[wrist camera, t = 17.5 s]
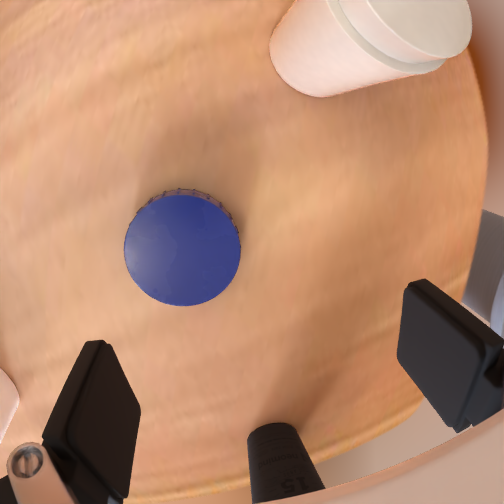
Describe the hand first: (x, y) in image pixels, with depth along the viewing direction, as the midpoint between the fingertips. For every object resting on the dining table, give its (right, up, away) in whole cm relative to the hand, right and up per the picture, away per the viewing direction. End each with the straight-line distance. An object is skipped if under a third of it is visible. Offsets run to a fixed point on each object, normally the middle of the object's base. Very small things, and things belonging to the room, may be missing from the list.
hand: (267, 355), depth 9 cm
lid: (-4, +3, +9) cm, 10 cm away
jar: (+4, +15, +7) cm, 17 cm away
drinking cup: (+2, -15, +18) cm, 23 cm away
